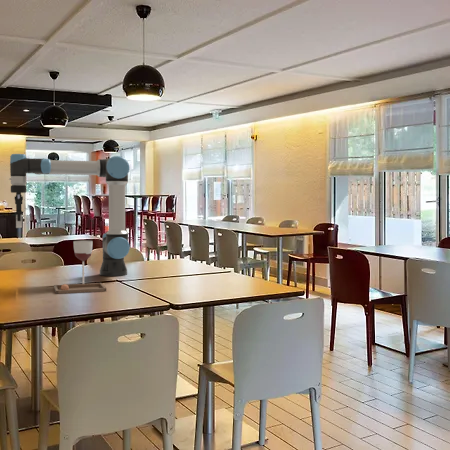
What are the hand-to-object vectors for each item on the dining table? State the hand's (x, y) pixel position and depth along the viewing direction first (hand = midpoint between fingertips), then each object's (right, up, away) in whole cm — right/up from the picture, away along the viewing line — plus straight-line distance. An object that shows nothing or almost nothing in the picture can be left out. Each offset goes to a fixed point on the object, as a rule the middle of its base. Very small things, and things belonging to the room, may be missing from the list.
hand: (19, 227), depth 290 cm
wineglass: (+35, -29, -11) cm, 47 cm away
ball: (+32, -29, -31) cm, 53 cm away
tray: (+37, -30, -25) cm, 54 cm away
